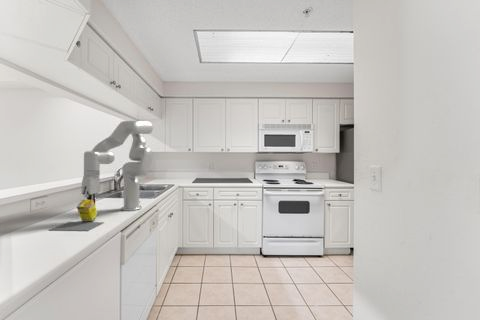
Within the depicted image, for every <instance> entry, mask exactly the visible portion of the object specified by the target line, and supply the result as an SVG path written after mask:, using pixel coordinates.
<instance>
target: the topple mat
mask: <svg viewBox="0 0 480 320" xmlns="http://www.w3.org/2000/svg"><path fill="white" fill-rule="evenodd" d="M103 224H105V222H104V221H103V222H102V221H101V222H100V221H96V222H95V221H93V222H82V221H68V222H65V223H62V224H61V225H57V226H54V227H52V228H50V229H49V231H54V232H55V231H57V232H58V231H61V232H65V231H67V232H69V231H70V232H71V231H72V232H90V231H91V230H93V229H95V228H97V227H99V226H101V225H103Z"/></svg>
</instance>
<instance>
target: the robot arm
mask: <svg viewBox="0 0 480 320" xmlns="http://www.w3.org/2000/svg"><path fill="white" fill-rule="evenodd" d="M153 131H154V126H153V124H152V122H150V121H146V120H145V121H144V120H143V121H142V120H123V121H120V123H119V124H118V125H117V126H116V128H115V129H114V130H113V132H112V133H111V134H110V135H109V136H108V137H106V138H105V139H102V140H101V141H100V142H99V143H97V144H96V145H94V147H93V148H92V150H86V151H85V152H84V153H83V176H82V182H81V191H80V192H81V195H84V198H86V200H93V201H94V204H95V205H96V199H97V195H99V193H100V191H101V179H100V172H101V171H100V168H101V167H100V165H110V164H112V163H114V161H115V159H116V158H115V155H114V154H113V152H111V151H109V150H112V149H115V148H119V147H120V146H123V144H124V143H125V142H126V140H127V139H128V137H129V136H130V135H131V137H132V142H131V143H132V144H131V147H130V150H129V153H128V158H129V160H130V161H129V162H125V163H124V164H123V165H122V168H121V171H122V176H123V206H122V207H121V208H120V209H121V211H127V212H131V211H132V212H133V211H138V209H139V210H141V209H142V205H140V204H141V200H140V180H139V178H143V177H146V176H147V175H148V174H149V171H150V168H151V165H152V162H153V156H154V155H153V151H152V149H151V148H149V147H146V143H147V141H146V138H145V136H144V135H145V134H146V135H149V134H151V133H152V132H153ZM138 177H139V178H138Z"/></svg>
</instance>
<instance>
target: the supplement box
mask: <svg viewBox="0 0 480 320" xmlns="http://www.w3.org/2000/svg"><path fill="white" fill-rule="evenodd" d="M76 208H77V209H76V210H77V212H78V214H79V216H80V217H79V218H80V220H81V222H95V220H96V218H97V217H98V215H99V214H98V211H97V208H96V203H95V204H94V201H93V200H87V199H82V200H81V201H80V202H79V203H78V204H77V206H76Z"/></svg>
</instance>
